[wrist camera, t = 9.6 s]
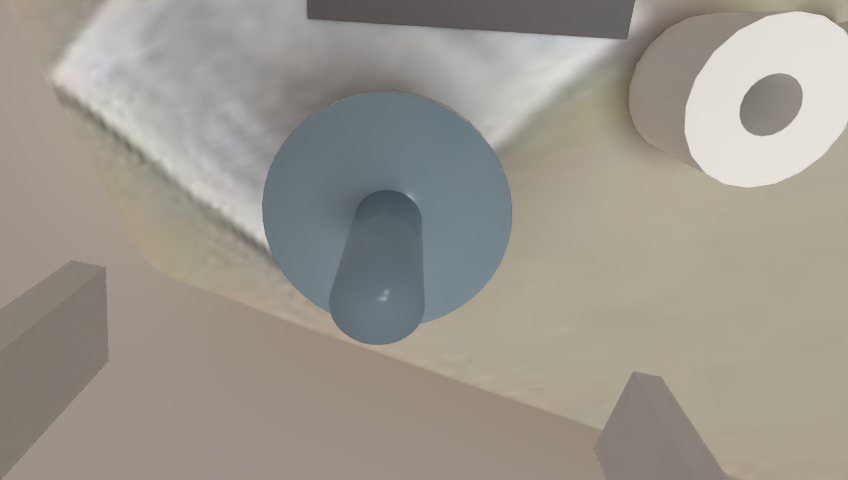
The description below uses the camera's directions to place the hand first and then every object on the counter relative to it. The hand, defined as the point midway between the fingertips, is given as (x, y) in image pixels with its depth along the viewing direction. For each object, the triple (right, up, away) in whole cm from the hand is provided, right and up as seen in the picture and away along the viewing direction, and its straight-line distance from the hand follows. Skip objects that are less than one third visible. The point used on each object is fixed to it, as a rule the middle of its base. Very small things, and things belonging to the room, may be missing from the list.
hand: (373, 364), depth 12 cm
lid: (0, +4, +10) cm, 11 cm away
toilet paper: (+20, +13, +18) cm, 29 cm away
